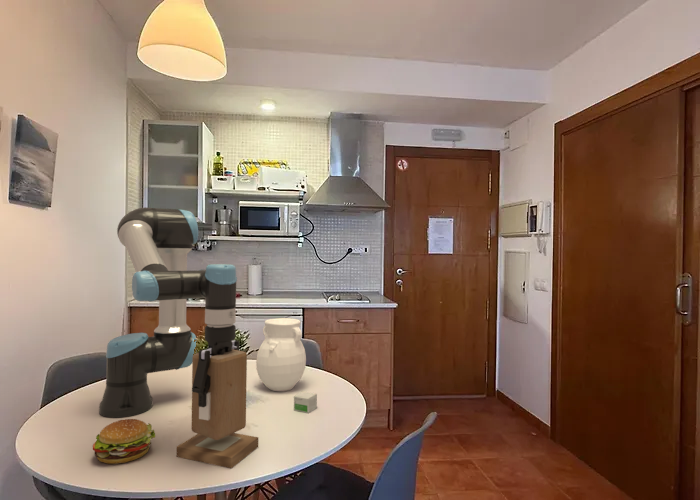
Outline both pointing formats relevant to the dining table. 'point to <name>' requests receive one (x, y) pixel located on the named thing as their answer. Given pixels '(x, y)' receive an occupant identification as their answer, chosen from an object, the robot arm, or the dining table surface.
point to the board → (218, 449)
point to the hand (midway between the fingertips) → (219, 410)
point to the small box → (305, 402)
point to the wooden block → (222, 395)
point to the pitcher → (281, 354)
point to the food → (123, 441)
